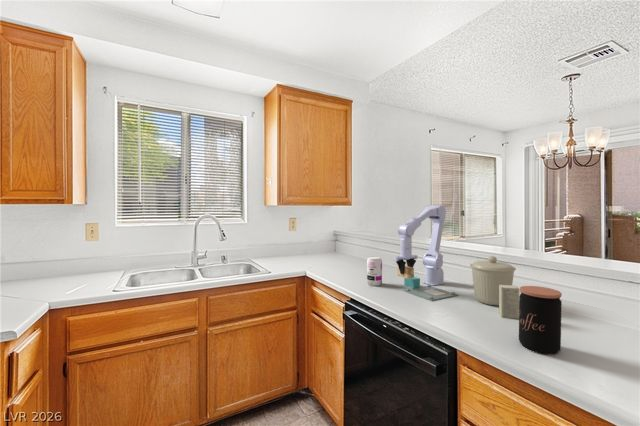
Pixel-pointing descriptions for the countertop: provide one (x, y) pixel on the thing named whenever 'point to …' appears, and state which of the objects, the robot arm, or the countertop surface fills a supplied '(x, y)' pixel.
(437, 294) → the baseplate
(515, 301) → the skincare box
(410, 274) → the honey-wood brick
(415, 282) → the teal brick
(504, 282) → the canister
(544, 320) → the coffee jar
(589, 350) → the countertop surface
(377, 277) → the supplement can
